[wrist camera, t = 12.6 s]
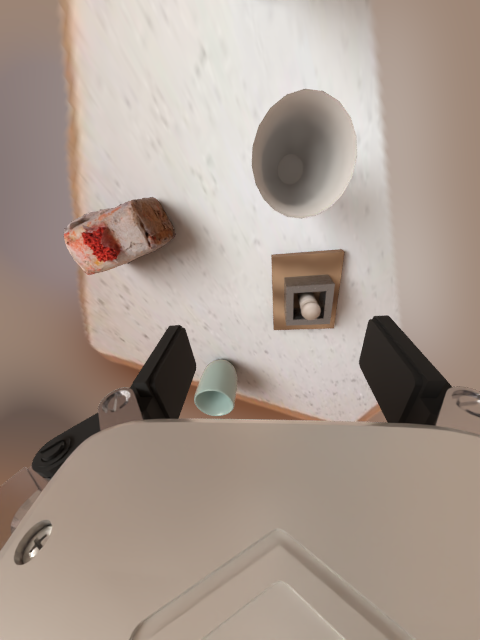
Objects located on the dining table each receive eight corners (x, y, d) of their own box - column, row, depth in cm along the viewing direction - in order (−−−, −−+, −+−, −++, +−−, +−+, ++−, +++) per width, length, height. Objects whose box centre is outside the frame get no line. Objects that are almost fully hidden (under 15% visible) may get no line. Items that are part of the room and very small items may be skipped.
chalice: (319, 178, 30) (376, 170, 15) (279, 213, 33) (291, 238, 18) (289, 126, 28) (318, 52, 12) (248, 169, 30) (230, 153, 15)
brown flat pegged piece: (271, 254, 36) (273, 271, 29) (341, 249, 35) (361, 265, 27) (273, 325, 43) (275, 353, 36) (331, 323, 42) (345, 352, 35)
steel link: (284, 277, 36) (286, 286, 33) (328, 274, 35) (334, 283, 32) (284, 313, 40) (286, 325, 37) (324, 311, 39) (329, 323, 36)
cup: (218, 382, 54) (209, 420, 45) (199, 361, 50) (185, 397, 42) (245, 372, 51) (241, 410, 42) (227, 349, 48) (219, 385, 39)
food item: (117, 266, 40) (78, 288, 32) (87, 222, 36) (34, 233, 28) (180, 238, 36) (155, 254, 28) (154, 186, 33) (115, 186, 24)
